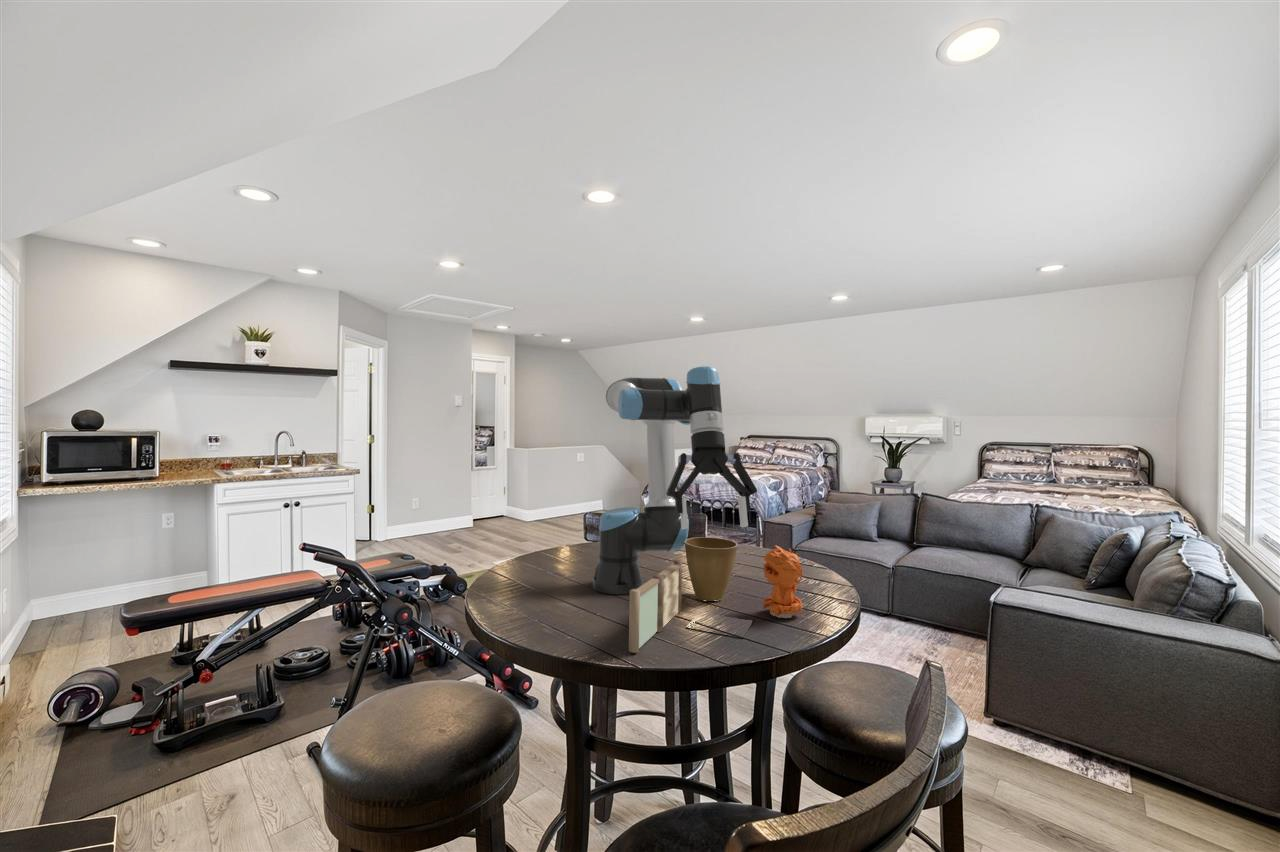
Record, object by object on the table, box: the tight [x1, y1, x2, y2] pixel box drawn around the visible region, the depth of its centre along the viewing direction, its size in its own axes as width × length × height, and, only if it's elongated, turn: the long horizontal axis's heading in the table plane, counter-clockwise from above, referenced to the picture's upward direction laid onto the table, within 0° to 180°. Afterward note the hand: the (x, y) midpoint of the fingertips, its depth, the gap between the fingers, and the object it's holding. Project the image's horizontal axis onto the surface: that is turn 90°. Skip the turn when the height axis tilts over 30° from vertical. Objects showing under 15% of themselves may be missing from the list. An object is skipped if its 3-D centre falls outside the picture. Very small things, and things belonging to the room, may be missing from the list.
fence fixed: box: [652, 559, 683, 633], centre depth 136 cm, size 16×3×14 cm, turn 156°
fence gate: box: [628, 577, 659, 654], centre depth 122 cm, size 13×2×13 cm, turn 156°
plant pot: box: [684, 536, 738, 601], centre depth 154 cm, size 15×15×16 cm
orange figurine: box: [762, 544, 804, 616], centre depth 142 cm, size 11×11×18 cm
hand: (714, 528), depth 118 cm, fingers open, 13 cm apart
